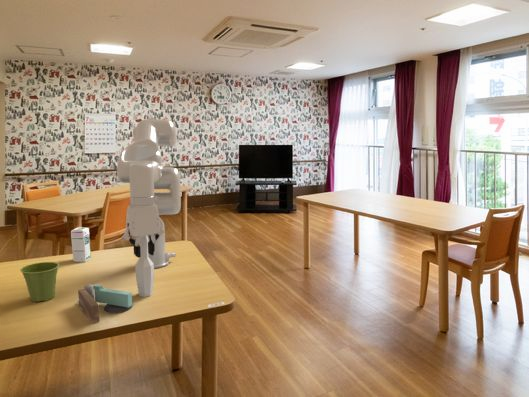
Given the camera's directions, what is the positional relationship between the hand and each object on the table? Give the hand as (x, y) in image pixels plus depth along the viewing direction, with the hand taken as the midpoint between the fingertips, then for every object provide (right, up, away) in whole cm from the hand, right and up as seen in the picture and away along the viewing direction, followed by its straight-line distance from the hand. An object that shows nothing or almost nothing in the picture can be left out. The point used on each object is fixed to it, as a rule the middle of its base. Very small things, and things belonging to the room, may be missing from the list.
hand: (144, 254), depth 136 cm
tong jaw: (-11, -16, 0) cm, 19 cm away
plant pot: (-37, -16, +7) cm, 41 cm away
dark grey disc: (-9, -17, 0) cm, 19 cm away
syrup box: (-42, -9, +48) cm, 65 cm away
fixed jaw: (-16, -18, -3) cm, 24 cm away
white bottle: (-3, -16, +11) cm, 19 cm away
